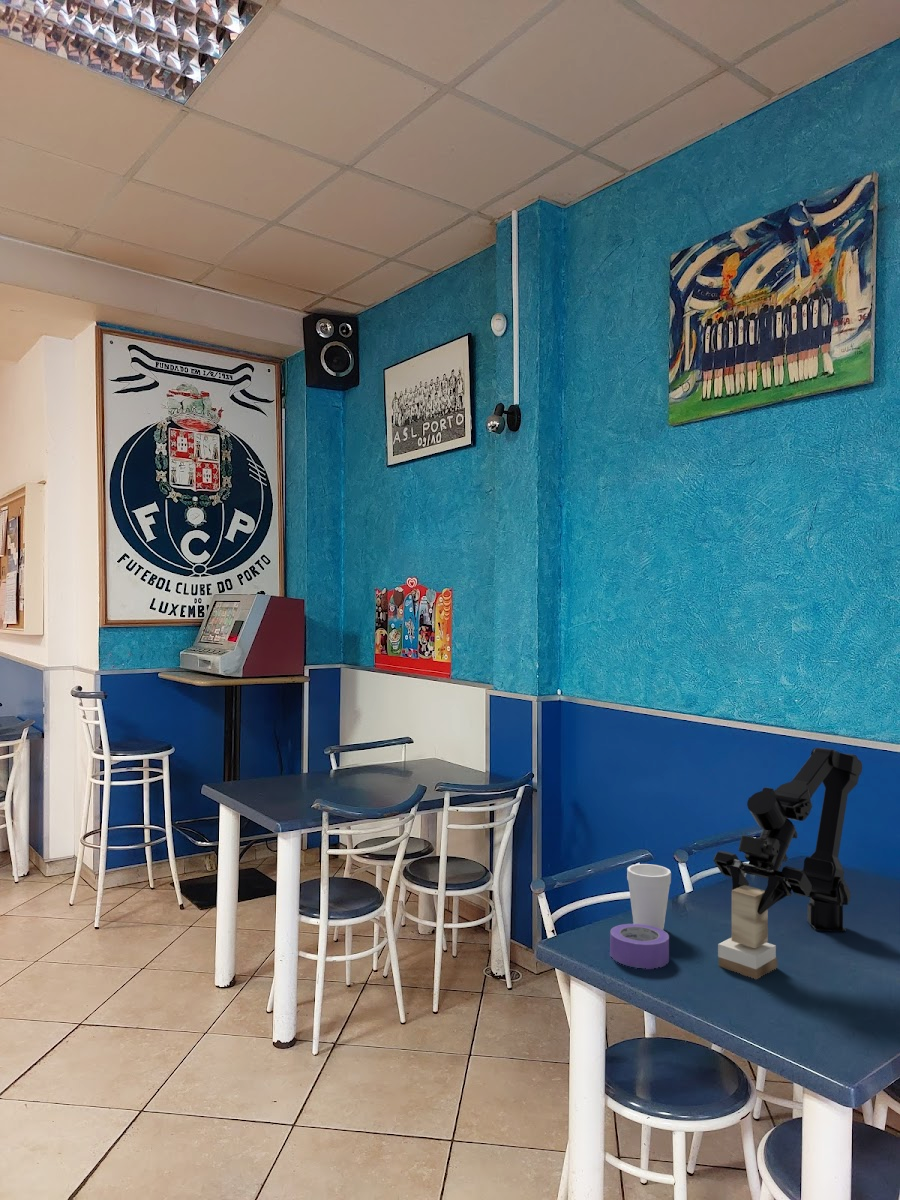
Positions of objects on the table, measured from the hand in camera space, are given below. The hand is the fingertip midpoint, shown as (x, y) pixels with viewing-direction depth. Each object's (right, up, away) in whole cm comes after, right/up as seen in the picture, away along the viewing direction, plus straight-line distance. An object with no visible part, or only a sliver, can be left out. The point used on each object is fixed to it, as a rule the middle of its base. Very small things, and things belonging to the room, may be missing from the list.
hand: (746, 909), depth 170 cm
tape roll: (-20, -12, +6) cm, 24 cm away
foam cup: (-14, -12, +21) cm, 28 cm away
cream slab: (0, -10, +1) cm, 10 cm away
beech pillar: (+1, -7, +1) cm, 7 cm away
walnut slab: (+1, -12, +1) cm, 12 cm away
